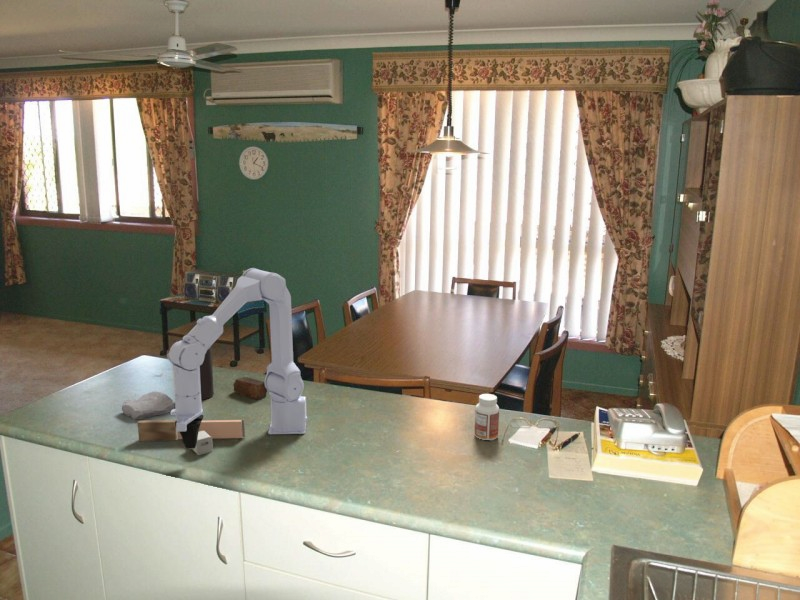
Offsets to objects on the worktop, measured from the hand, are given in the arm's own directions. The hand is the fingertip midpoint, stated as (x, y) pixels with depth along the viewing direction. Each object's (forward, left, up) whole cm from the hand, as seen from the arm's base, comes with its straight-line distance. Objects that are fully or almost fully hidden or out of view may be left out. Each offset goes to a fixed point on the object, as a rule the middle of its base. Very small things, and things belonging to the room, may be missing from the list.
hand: (190, 447), depth 146 cm
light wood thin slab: (-2, -13, -4) cm, 13 cm away
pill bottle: (-73, -11, -4) cm, 74 cm away
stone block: (+19, -31, -4) cm, 36 cm away
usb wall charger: (0, -8, -4) cm, 9 cm away
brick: (-7, -43, -4) cm, 44 cm away
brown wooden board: (+11, -13, -4) cm, 17 cm away
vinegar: (+7, -42, -4) cm, 43 cm away
